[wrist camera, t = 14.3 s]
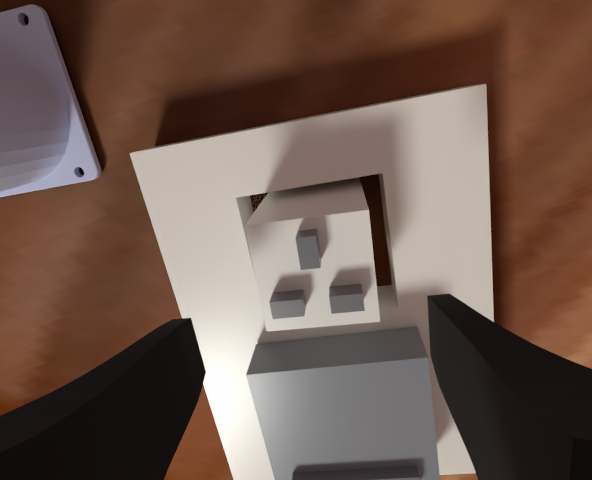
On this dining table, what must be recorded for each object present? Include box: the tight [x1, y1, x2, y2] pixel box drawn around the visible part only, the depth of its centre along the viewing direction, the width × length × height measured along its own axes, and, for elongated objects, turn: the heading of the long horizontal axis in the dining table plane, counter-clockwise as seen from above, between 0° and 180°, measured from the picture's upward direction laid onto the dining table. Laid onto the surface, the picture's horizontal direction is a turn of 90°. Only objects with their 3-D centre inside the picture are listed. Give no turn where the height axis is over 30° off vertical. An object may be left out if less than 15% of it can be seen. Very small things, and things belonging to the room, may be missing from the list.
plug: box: [244, 178, 380, 332], centre depth 17 cm, size 4×4×7 cm
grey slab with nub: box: [246, 327, 440, 480], centre depth 19 cm, size 8×8×3 cm
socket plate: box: [130, 84, 494, 480], centre depth 21 cm, size 15×20×2 cm
